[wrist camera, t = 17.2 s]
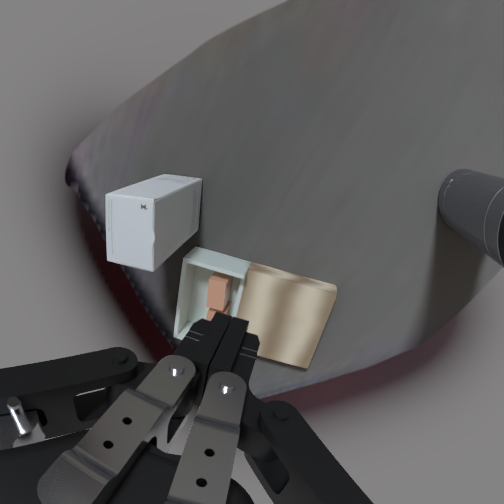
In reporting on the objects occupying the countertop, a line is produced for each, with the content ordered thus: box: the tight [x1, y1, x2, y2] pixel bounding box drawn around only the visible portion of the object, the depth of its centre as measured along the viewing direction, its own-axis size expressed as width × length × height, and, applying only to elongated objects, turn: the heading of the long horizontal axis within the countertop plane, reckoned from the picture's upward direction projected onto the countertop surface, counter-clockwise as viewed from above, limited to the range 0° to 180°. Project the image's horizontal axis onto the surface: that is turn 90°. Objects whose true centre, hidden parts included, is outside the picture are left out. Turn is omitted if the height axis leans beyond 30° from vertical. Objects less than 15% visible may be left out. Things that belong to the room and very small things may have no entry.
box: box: [174, 246, 251, 340], centre depth 48 cm, size 9×14×5 cm, turn 167°
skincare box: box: [106, 174, 202, 272], centre depth 39 cm, size 8×7×16 cm
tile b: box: [206, 301, 231, 321], centre depth 49 cm, size 4×4×2 cm
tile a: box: [206, 271, 233, 311], centre depth 47 cm, size 4×4×2 cm
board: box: [236, 262, 337, 368], centre depth 48 cm, size 13×14×3 cm
